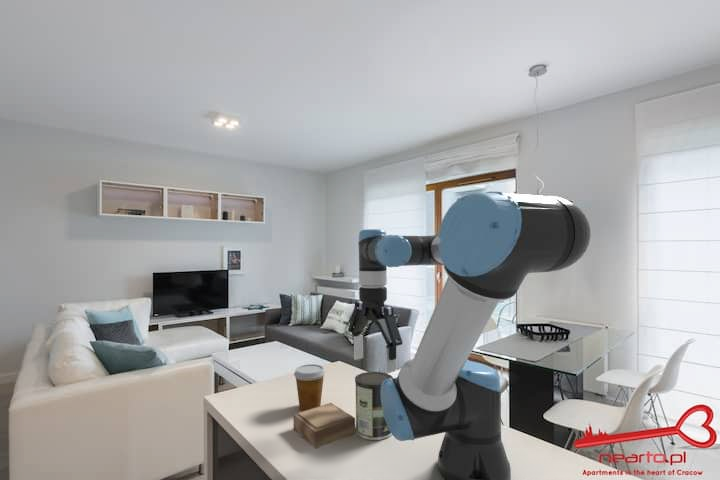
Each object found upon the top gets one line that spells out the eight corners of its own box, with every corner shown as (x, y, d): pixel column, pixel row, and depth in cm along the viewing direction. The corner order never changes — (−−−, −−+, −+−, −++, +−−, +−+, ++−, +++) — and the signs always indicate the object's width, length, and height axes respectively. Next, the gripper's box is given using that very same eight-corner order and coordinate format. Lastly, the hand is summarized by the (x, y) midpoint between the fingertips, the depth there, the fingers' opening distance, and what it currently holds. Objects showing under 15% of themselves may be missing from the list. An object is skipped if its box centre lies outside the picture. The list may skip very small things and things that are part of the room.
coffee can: (395, 423, 101) (395, 372, 101) (391, 442, 91) (390, 386, 91) (359, 419, 103) (359, 370, 103) (351, 438, 93) (351, 383, 93)
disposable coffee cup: (328, 401, 116) (327, 364, 116) (322, 415, 106) (321, 374, 106) (299, 400, 116) (298, 363, 117) (290, 414, 107) (290, 373, 107)
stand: (355, 433, 96) (354, 416, 96) (315, 448, 88) (315, 430, 89) (331, 416, 105) (330, 401, 105) (293, 429, 98) (293, 412, 98)
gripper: (415, 289, 90) (416, 374, 90) (356, 282, 110) (357, 351, 110) (393, 291, 86) (394, 381, 85) (336, 283, 106) (336, 356, 105)
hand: (373, 365), depth 98 cm, fingers open, 13 cm apart
